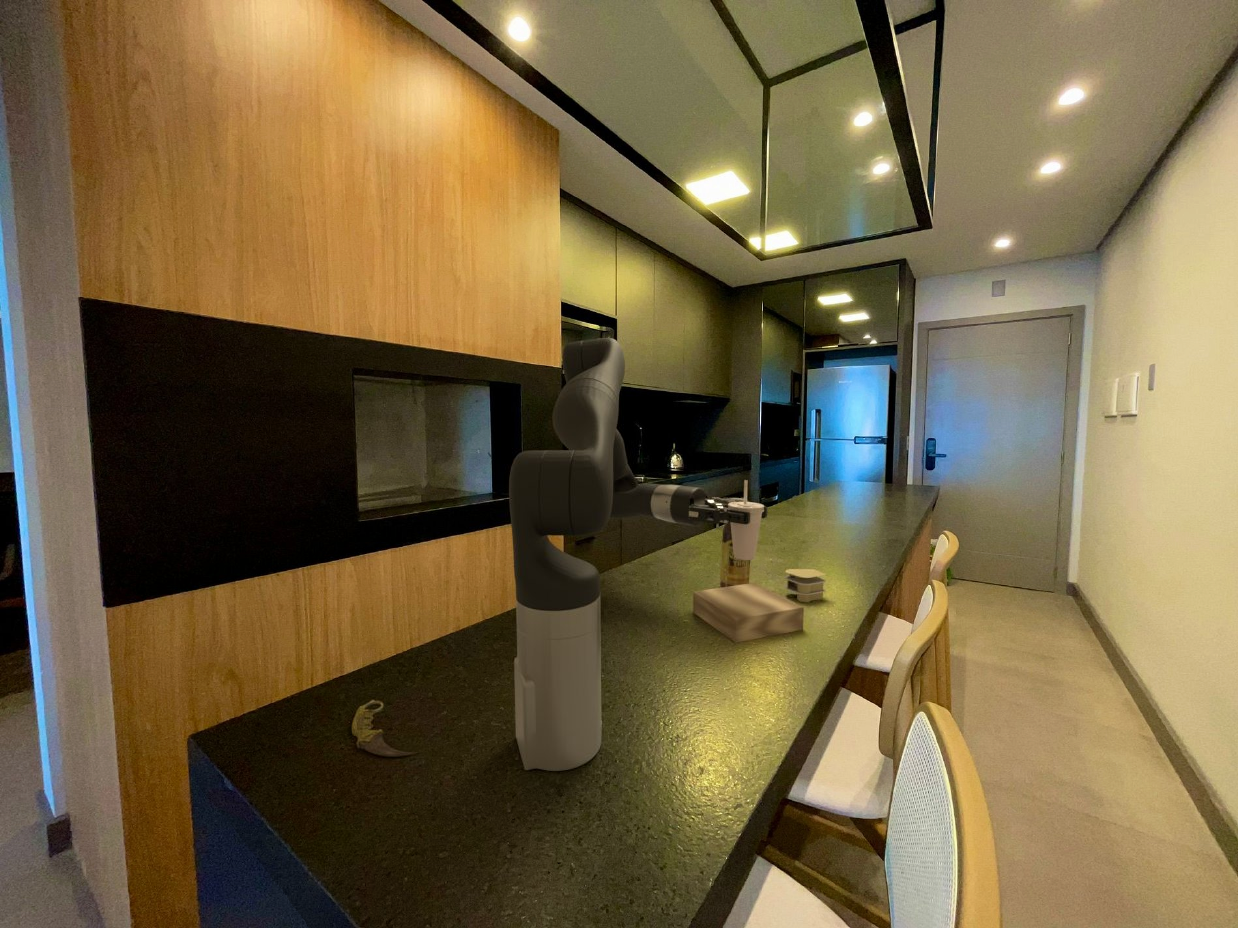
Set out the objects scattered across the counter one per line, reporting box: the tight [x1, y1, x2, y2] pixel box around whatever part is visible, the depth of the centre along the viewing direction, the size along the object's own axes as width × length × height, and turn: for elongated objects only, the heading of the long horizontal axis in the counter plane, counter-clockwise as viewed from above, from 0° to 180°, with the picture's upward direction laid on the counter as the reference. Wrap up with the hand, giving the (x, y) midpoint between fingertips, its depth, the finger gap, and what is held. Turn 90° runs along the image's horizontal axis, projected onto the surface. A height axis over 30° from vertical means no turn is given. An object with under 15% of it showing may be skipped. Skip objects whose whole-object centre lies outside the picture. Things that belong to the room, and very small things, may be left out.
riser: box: [692, 582, 805, 644], centre depth 88 cm, size 14×14×4 cm
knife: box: [351, 699, 422, 758], centre depth 57 cm, size 14×1×5 cm
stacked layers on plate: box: [784, 568, 827, 603], centre depth 100 cm, size 10×9×6 cm
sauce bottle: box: [719, 497, 751, 588], centre depth 104 cm, size 6×6×20 cm
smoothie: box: [728, 479, 765, 561], centre depth 87 cm, size 6×6×14 cm
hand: (757, 515), depth 85 cm, fingers closed on smoothie, 6 cm apart
